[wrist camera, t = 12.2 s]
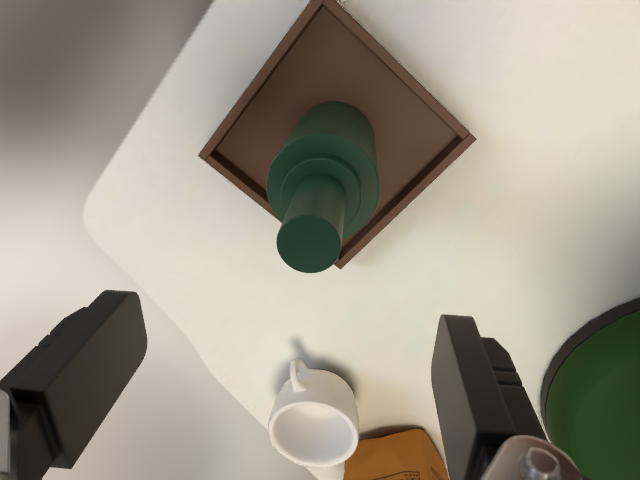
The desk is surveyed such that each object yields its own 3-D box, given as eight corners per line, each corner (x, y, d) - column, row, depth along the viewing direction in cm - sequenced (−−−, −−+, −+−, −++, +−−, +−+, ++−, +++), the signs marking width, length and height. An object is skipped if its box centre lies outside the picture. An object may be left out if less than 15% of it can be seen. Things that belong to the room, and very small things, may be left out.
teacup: (368, 411, 42) (369, 461, 37) (294, 423, 43) (285, 472, 39) (339, 330, 38) (335, 374, 33) (258, 346, 39) (243, 390, 35)
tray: (206, 148, 32) (197, 155, 30) (323, -11, 27) (320, -14, 25) (341, 257, 35) (340, 269, 33) (470, 132, 30) (476, 139, 28)
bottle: (279, 125, 30) (204, 213, 16) (351, 85, 28) (341, 142, 14) (318, 193, 32) (282, 327, 18) (388, 159, 30) (410, 276, 16)
